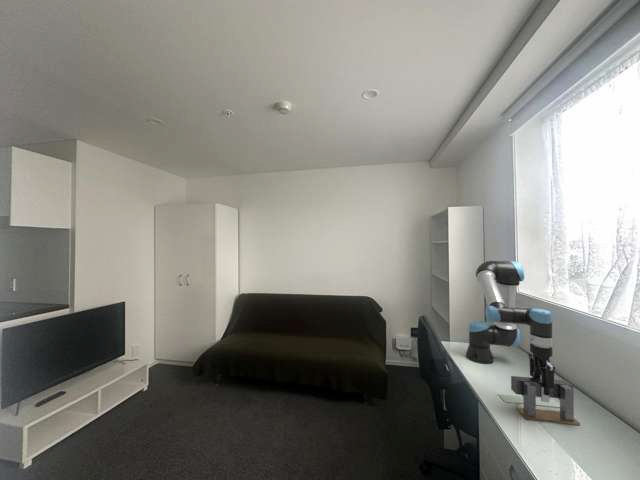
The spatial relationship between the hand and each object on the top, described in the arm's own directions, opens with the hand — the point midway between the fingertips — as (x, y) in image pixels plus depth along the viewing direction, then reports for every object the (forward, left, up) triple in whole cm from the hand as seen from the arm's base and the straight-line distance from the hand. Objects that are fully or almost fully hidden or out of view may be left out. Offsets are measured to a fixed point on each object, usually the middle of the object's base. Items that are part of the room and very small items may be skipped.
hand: (541, 398), depth 113 cm
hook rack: (+2, 0, -6) cm, 6 cm away
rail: (0, 0, +2) cm, 2 cm away
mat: (-8, 0, -6) cm, 10 cm away
